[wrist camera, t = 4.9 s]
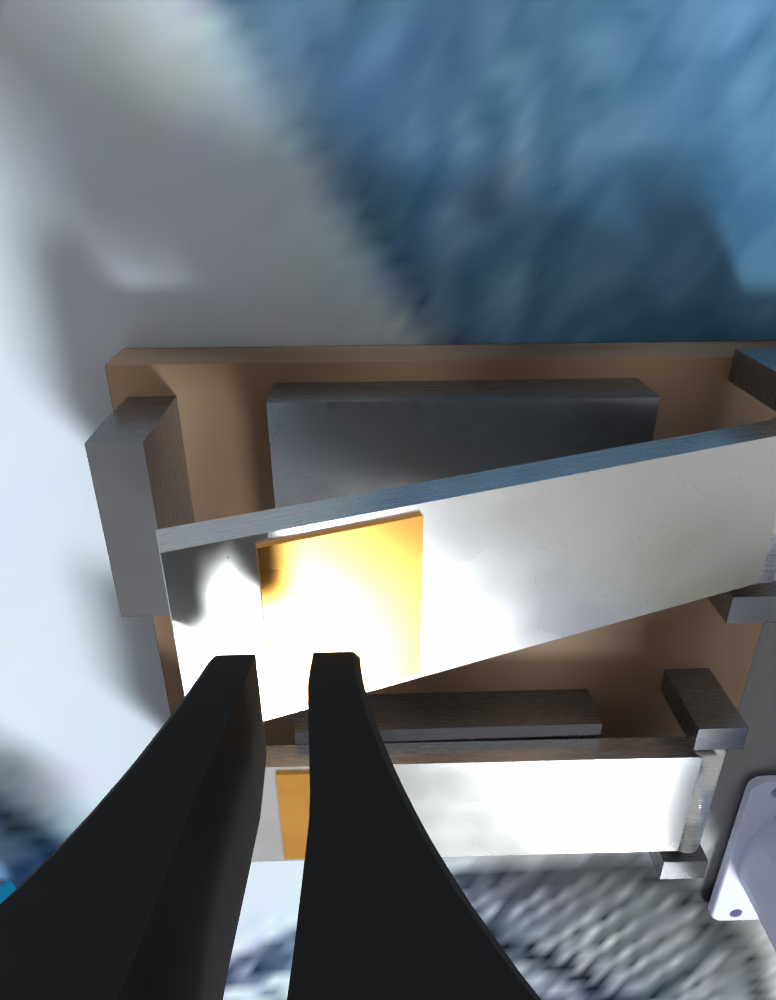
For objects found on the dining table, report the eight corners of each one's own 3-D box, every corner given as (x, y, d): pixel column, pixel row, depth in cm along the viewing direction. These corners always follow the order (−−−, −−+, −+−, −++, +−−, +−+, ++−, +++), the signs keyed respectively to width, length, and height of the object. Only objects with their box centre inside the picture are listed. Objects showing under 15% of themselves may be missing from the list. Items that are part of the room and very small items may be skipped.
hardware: (791, 348, 17) (869, 385, 15) (672, 811, 25) (710, 892, 22) (120, 356, 17) (74, 397, 14) (203, 825, 24) (184, 910, 22)
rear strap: (716, 733, 21) (731, 759, 20) (691, 825, 23) (704, 853, 22) (227, 743, 21) (221, 771, 20) (241, 836, 23) (235, 865, 22)
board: (806, 340, 19) (841, 355, 17) (692, 772, 26) (710, 806, 25) (123, 349, 18) (104, 365, 17) (200, 786, 26) (191, 822, 24)
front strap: (792, 413, 17) (831, 427, 16) (754, 558, 18) (785, 578, 18) (154, 526, 12) (161, 556, 11) (186, 707, 14) (194, 744, 13)
